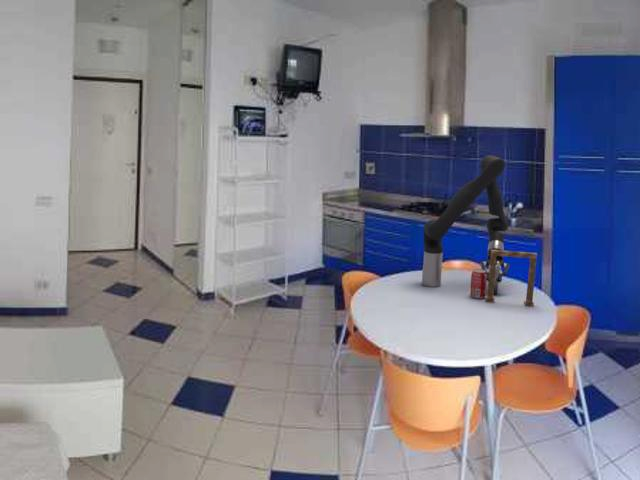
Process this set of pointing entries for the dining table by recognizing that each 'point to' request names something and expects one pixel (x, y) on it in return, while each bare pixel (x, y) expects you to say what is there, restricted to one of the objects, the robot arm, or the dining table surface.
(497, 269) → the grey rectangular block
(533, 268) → the arch
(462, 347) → the dining table surface
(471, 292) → the soda can
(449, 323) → the dining table surface
